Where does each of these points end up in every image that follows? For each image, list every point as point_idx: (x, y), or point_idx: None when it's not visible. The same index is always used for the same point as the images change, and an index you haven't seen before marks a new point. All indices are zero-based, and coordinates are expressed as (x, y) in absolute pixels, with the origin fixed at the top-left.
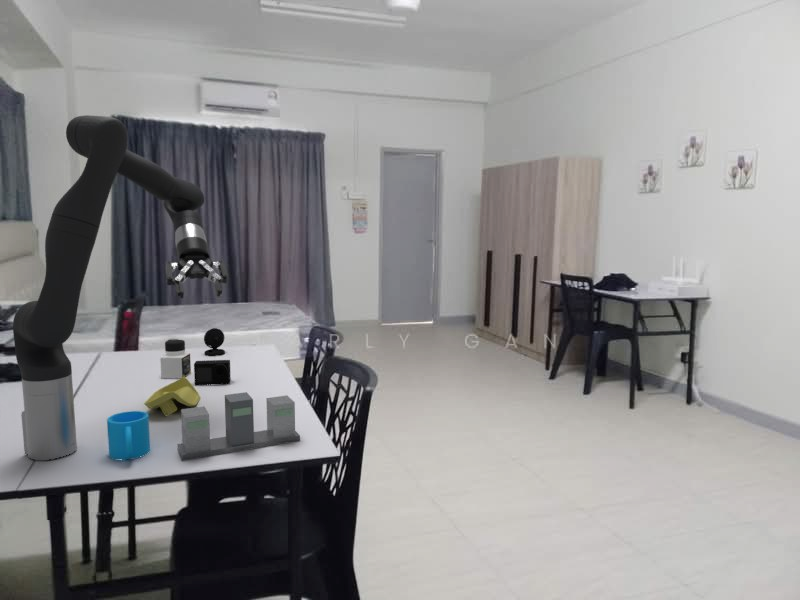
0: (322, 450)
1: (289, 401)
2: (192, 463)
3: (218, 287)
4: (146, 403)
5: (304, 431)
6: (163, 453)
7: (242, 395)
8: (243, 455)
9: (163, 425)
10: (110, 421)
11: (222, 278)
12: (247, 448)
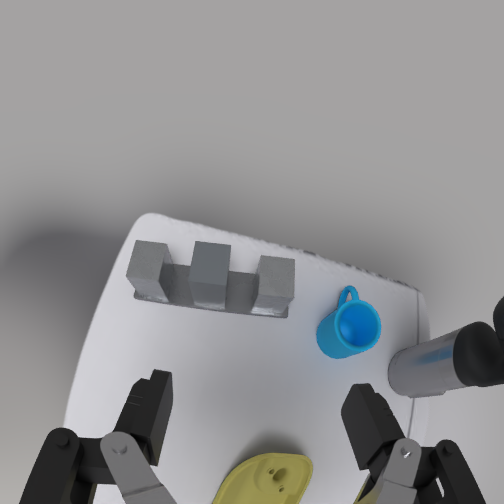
0: (141, 225)
1: (139, 247)
2: None
3: (155, 387)
4: (311, 463)
5: (123, 287)
6: (303, 314)
7: (201, 267)
8: None
9: (287, 422)
10: (377, 316)
11: (93, 445)
12: None
